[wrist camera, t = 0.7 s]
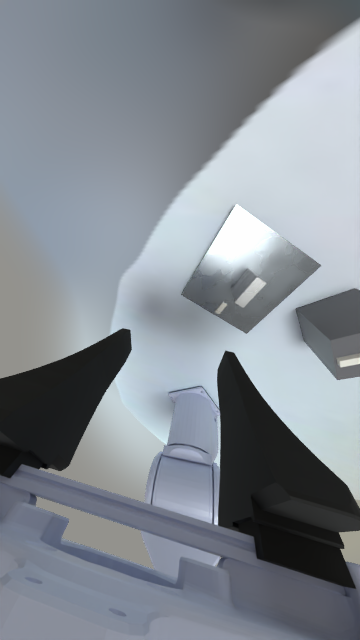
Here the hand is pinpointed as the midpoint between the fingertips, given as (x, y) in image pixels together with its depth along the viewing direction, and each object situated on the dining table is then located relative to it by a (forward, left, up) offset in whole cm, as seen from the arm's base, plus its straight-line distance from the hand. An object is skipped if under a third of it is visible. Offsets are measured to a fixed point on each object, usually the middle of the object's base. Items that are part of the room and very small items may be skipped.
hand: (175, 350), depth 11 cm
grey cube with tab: (-9, -14, -10) cm, 19 cm away
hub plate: (0, -7, -10) cm, 12 cm away
